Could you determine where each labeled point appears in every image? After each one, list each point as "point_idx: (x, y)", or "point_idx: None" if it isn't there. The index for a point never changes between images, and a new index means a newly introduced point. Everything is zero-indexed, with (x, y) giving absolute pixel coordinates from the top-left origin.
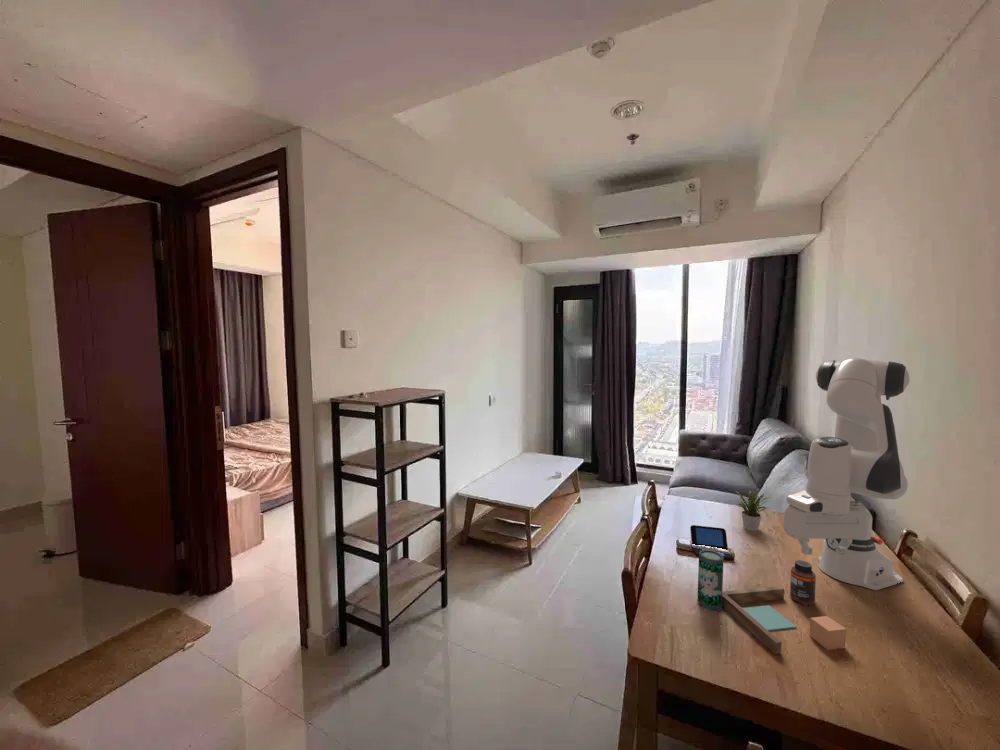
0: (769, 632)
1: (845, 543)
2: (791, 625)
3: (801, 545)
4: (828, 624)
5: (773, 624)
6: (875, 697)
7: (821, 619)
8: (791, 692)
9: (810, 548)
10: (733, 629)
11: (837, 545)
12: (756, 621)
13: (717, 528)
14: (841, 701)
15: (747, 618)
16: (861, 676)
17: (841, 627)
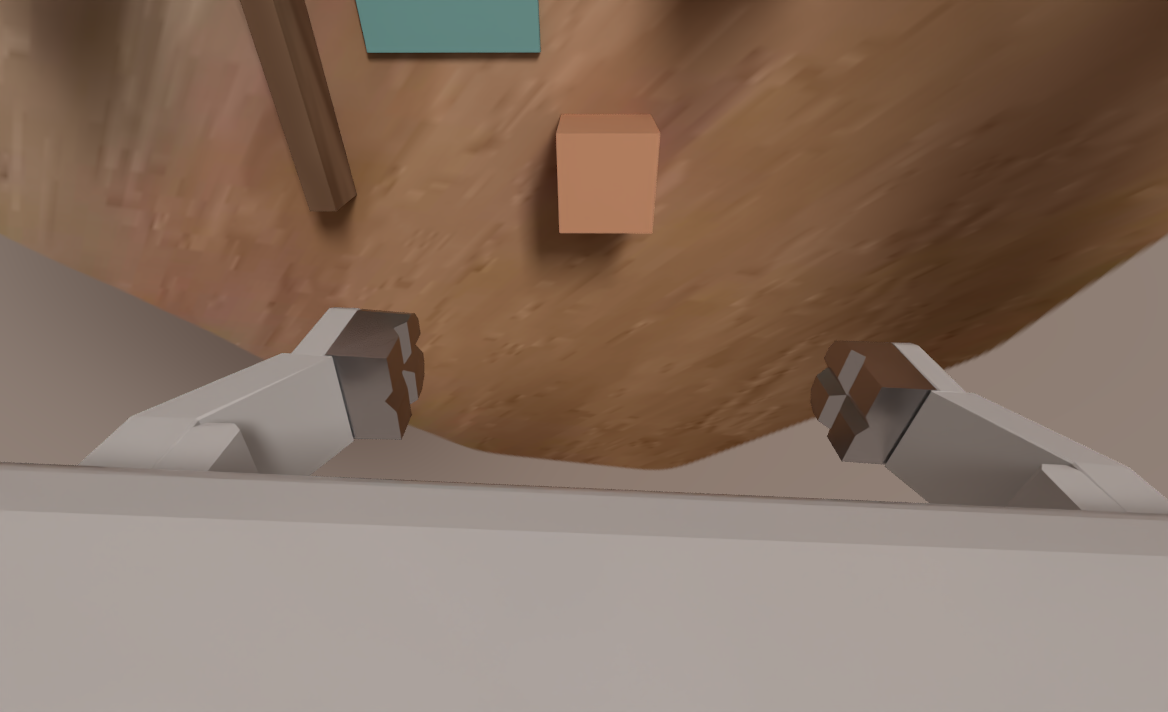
0: (313, 148)
1: (964, 490)
2: (521, 40)
3: (280, 364)
4: (601, 193)
5: (429, 15)
6: (531, 372)
7: (602, 154)
8: (299, 331)
9: (373, 434)
10: (200, 7)
11: (892, 398)
12: (283, 56)
13: None
14: (425, 369)
15: (246, 13)
16: (565, 315)
17: (642, 221)
